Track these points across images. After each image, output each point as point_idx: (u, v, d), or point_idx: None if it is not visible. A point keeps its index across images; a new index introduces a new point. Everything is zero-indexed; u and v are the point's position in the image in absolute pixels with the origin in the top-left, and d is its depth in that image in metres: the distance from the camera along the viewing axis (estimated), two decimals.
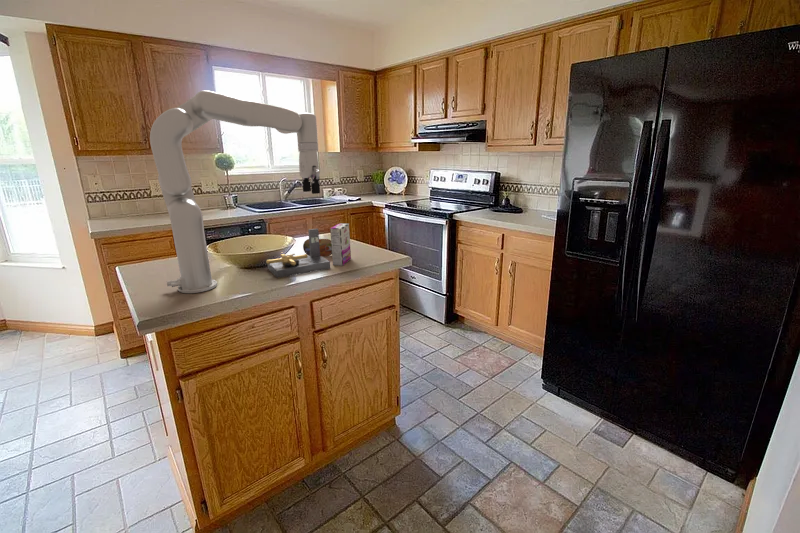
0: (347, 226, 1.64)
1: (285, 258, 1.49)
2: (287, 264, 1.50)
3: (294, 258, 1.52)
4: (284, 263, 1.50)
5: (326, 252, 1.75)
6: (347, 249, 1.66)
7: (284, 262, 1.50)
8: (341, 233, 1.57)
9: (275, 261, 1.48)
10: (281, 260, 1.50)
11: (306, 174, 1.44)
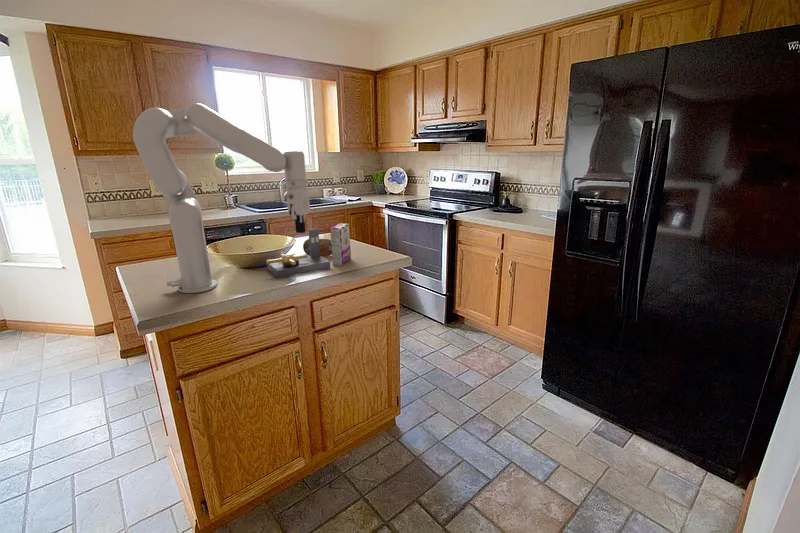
0: (347, 226, 1.64)
1: (285, 258, 1.49)
2: (287, 264, 1.50)
3: (294, 258, 1.52)
4: (284, 263, 1.50)
5: (326, 252, 1.75)
6: (347, 249, 1.66)
7: (284, 262, 1.50)
8: (341, 233, 1.57)
9: (275, 261, 1.48)
10: (281, 260, 1.50)
11: (309, 209, 1.47)
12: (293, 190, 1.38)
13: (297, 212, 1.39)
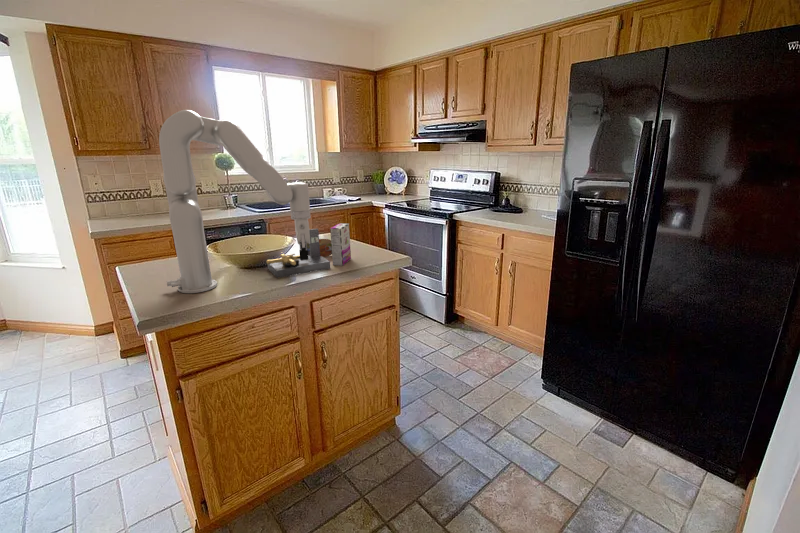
0: (347, 226, 1.64)
1: (285, 258, 1.49)
2: (287, 264, 1.50)
3: (294, 258, 1.52)
4: (284, 263, 1.50)
5: (326, 252, 1.75)
6: (347, 249, 1.66)
7: (284, 262, 1.50)
8: (341, 233, 1.57)
9: (275, 261, 1.48)
10: (281, 260, 1.50)
11: None
12: (303, 220, 1.44)
13: (308, 241, 1.47)
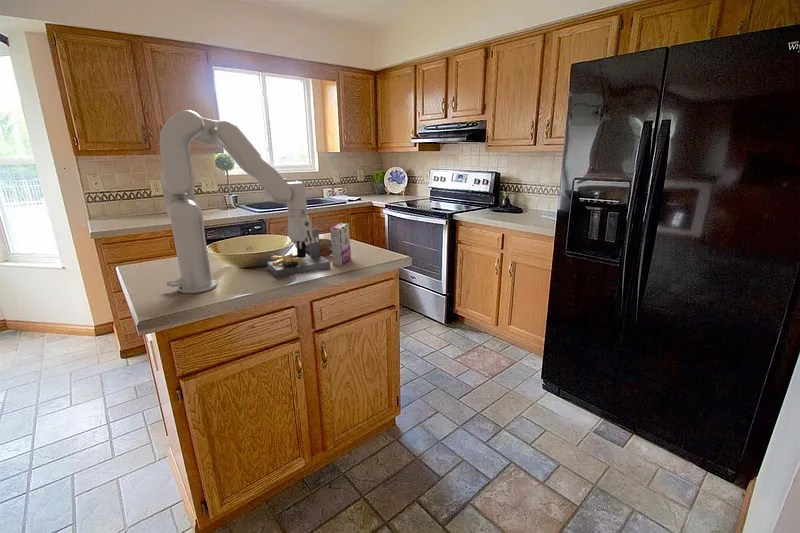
0: (347, 226, 1.64)
1: (288, 258, 1.49)
2: (291, 264, 1.50)
3: (293, 257, 1.53)
4: (287, 263, 1.50)
5: (326, 252, 1.75)
6: (347, 249, 1.66)
7: (287, 262, 1.50)
8: (341, 233, 1.57)
9: (280, 262, 1.47)
10: (284, 260, 1.49)
11: None
12: (307, 218, 1.50)
13: (312, 237, 1.52)
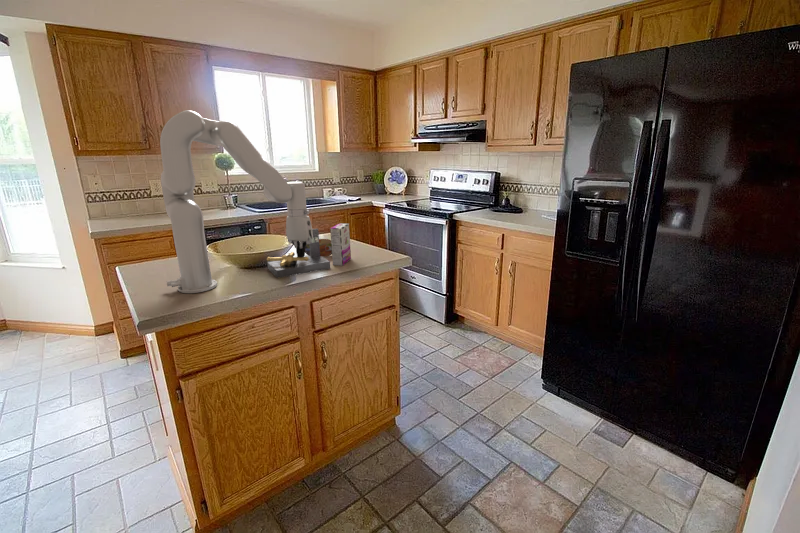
0: (347, 226, 1.64)
1: (290, 258, 1.50)
2: (293, 263, 1.51)
3: None
4: (289, 263, 1.50)
5: (326, 252, 1.75)
6: (347, 249, 1.66)
7: (289, 262, 1.50)
8: (341, 233, 1.57)
9: (285, 262, 1.47)
10: (287, 260, 1.49)
11: None
12: (308, 217, 1.52)
13: (312, 236, 1.55)
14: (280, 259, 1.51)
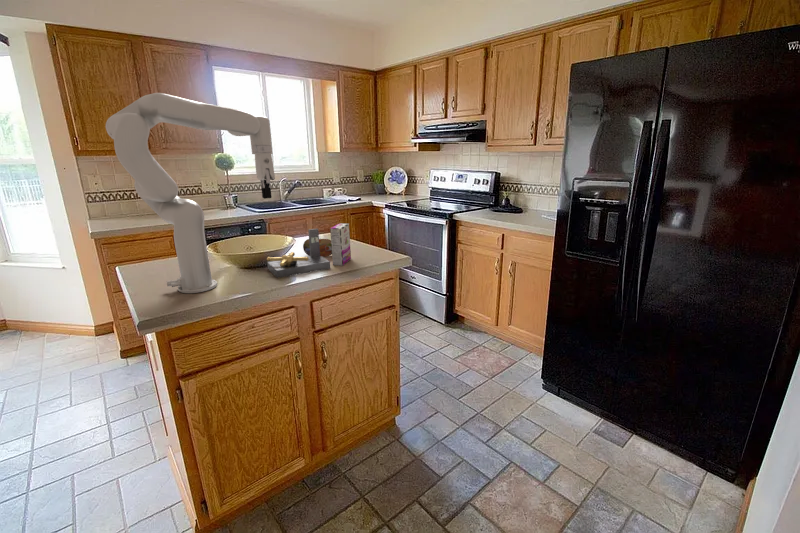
0: (347, 226, 1.64)
1: (290, 258, 1.50)
2: (293, 263, 1.51)
3: None
4: (289, 263, 1.50)
5: (326, 252, 1.75)
6: (347, 249, 1.66)
7: (289, 262, 1.50)
8: (341, 233, 1.57)
9: (285, 262, 1.47)
10: (287, 260, 1.49)
11: None
12: (267, 155, 1.43)
13: (273, 176, 1.46)
14: (280, 259, 1.51)
